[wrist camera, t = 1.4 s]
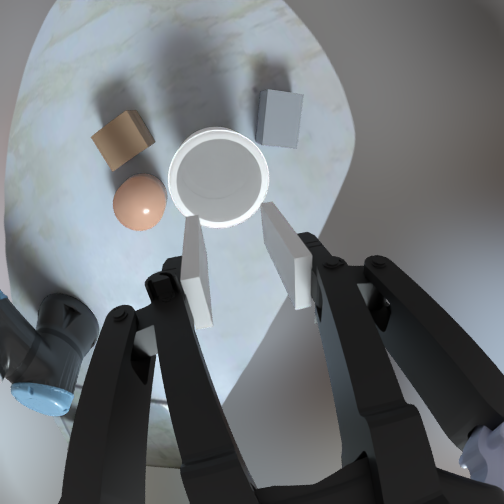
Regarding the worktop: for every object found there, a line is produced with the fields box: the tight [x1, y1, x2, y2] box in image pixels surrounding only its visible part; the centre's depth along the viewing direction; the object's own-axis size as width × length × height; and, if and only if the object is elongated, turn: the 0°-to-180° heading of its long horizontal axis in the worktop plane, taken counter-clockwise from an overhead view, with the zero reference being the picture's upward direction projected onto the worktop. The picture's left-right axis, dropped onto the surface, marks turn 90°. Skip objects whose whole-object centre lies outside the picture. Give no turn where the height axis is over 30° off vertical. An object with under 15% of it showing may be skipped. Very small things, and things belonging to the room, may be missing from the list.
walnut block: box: [91, 110, 155, 172], centre depth 33 cm, size 6×6×6 cm
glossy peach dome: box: [113, 173, 167, 231], centre depth 39 cm, size 8×8×4 cm
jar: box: [168, 127, 269, 229], centre depth 33 cm, size 11×10×15 cm
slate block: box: [256, 89, 303, 149], centre depth 36 cm, size 5×8×5 cm, turn 174°
